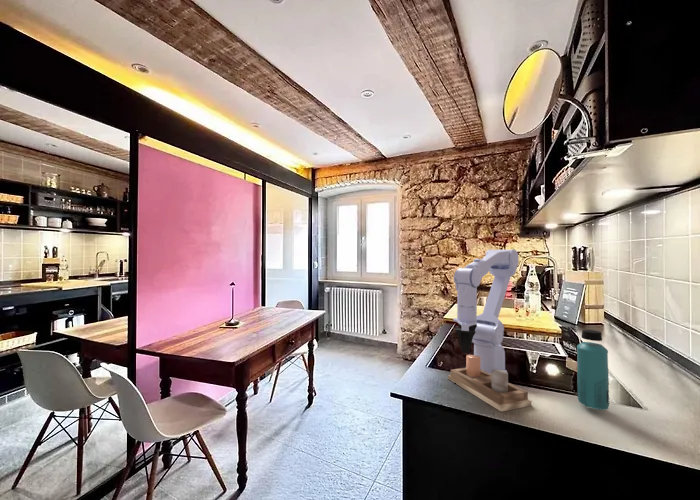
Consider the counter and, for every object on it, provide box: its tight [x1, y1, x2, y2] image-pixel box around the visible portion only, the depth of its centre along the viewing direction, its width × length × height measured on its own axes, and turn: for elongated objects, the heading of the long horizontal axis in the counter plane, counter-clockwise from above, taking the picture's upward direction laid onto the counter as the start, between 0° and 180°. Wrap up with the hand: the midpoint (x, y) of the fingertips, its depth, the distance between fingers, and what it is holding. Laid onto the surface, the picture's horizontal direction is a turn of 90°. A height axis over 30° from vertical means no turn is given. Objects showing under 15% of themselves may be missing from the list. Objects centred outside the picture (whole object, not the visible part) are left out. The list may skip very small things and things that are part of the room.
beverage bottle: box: [576, 329, 611, 411], centre depth 78 cm, size 6×7×20 cm
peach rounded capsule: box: [465, 354, 481, 379], centre depth 92 cm, size 4×4×7 cm
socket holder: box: [447, 367, 532, 412], centre depth 88 cm, size 10×21×7 cm, turn 19°
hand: (466, 349), depth 96 cm, fingers open, 7 cm apart
